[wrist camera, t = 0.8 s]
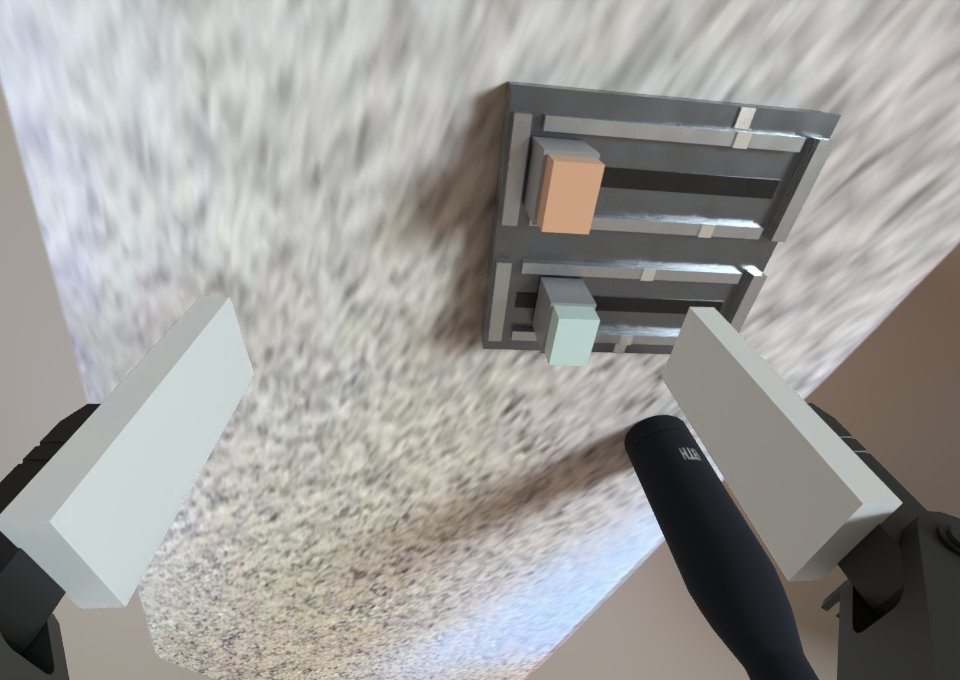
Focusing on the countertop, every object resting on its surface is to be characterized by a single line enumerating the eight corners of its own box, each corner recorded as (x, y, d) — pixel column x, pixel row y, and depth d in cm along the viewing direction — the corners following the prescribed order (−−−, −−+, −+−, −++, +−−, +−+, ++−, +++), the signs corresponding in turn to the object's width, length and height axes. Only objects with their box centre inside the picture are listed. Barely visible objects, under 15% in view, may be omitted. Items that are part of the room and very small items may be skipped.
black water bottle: (632, 465, 47) (841, 935, 22) (616, 429, 43) (842, 938, 19) (691, 444, 46) (981, 919, 21) (680, 405, 42) (1011, 919, 18)
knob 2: (540, 277, 31) (556, 315, 26) (582, 279, 31) (604, 317, 27) (532, 324, 33) (545, 367, 29) (570, 326, 33) (589, 368, 29)
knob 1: (532, 136, 25) (550, 156, 21) (582, 140, 26) (610, 160, 21) (523, 204, 28) (537, 234, 23) (568, 207, 28) (591, 238, 24)
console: (507, 81, 26) (514, 85, 23) (817, 110, 28) (851, 117, 25) (481, 334, 36) (484, 354, 33) (709, 341, 38) (726, 361, 36)
